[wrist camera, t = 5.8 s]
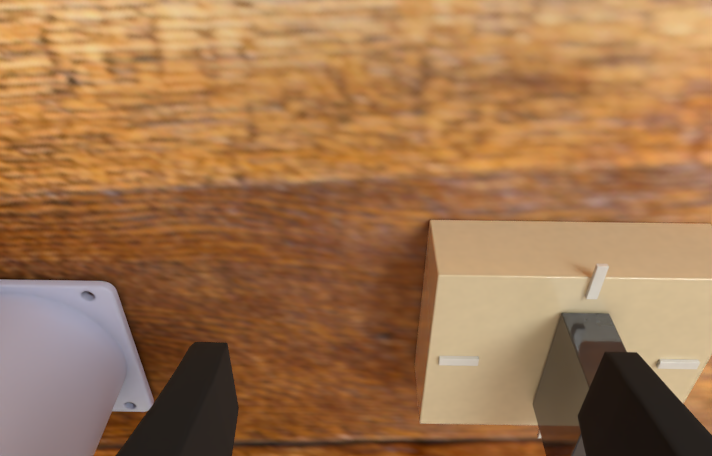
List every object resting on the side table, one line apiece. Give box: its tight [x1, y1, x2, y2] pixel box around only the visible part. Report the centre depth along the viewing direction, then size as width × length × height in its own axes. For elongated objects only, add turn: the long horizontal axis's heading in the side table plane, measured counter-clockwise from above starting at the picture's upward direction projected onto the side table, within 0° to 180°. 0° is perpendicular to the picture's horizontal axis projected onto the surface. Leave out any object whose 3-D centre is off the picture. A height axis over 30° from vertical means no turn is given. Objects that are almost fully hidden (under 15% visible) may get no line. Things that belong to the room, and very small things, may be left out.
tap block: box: [415, 220, 712, 438], centre depth 22 cm, size 10×9×3 cm
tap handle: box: [533, 313, 627, 456], centre depth 19 cm, size 5×2×4 cm, turn 0°
